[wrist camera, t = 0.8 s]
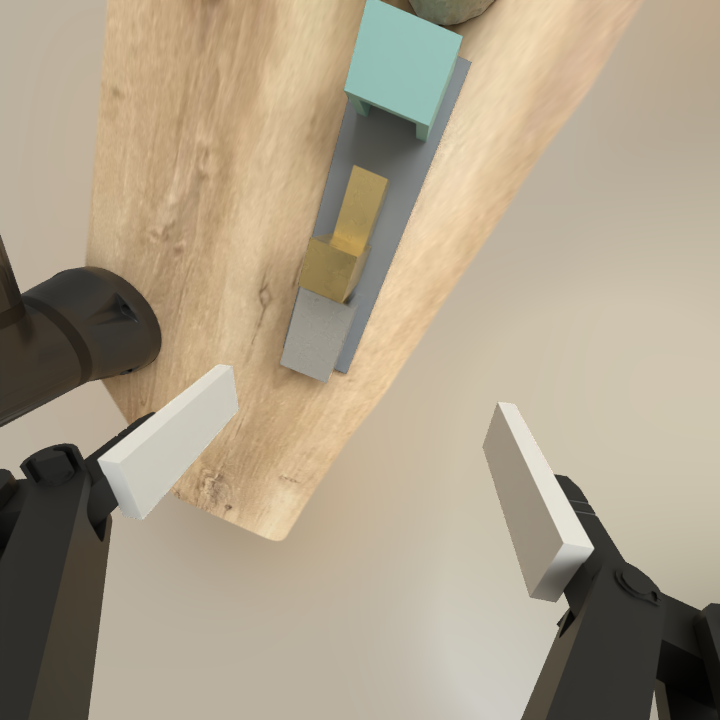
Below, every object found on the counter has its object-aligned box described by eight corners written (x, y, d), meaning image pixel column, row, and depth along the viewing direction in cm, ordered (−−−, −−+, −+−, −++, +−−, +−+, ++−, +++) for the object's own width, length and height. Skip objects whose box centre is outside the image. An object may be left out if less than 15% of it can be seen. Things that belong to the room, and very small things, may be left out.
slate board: (285, 345, 39) (282, 348, 39) (370, 24, 25) (369, 18, 24) (347, 371, 40) (346, 373, 39) (469, 66, 25) (471, 62, 24)
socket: (357, 113, 27) (343, 90, 22) (377, 40, 24) (367, -5, 19) (426, 142, 27) (428, 126, 22) (453, 72, 24) (463, 36, 19)
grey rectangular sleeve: (296, 346, 38) (279, 364, 34) (315, 277, 34) (300, 287, 29) (337, 363, 38) (326, 383, 34) (362, 296, 34) (354, 309, 29)
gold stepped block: (303, 343, 38) (273, 378, 30) (355, 168, 28) (333, 150, 20) (332, 355, 38) (310, 392, 30) (394, 184, 28) (386, 172, 20)
